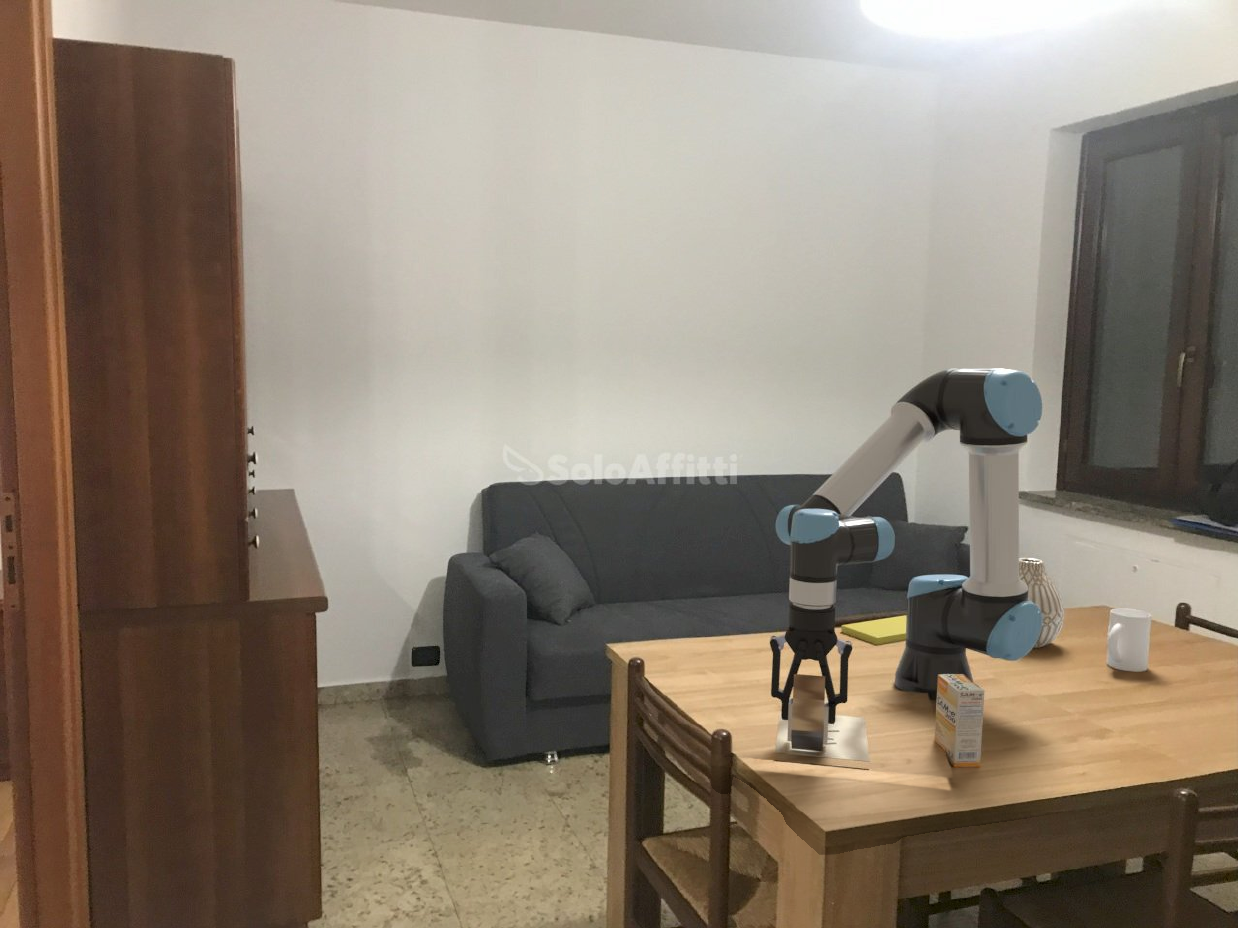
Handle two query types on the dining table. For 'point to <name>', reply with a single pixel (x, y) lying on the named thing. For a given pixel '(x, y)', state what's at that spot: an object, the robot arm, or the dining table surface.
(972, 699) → the supplement box
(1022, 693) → the dining table surface
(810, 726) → the block
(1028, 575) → the vase
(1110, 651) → the mug
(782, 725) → the board
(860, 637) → the yellow rectangular slab
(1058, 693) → the dining table surface
